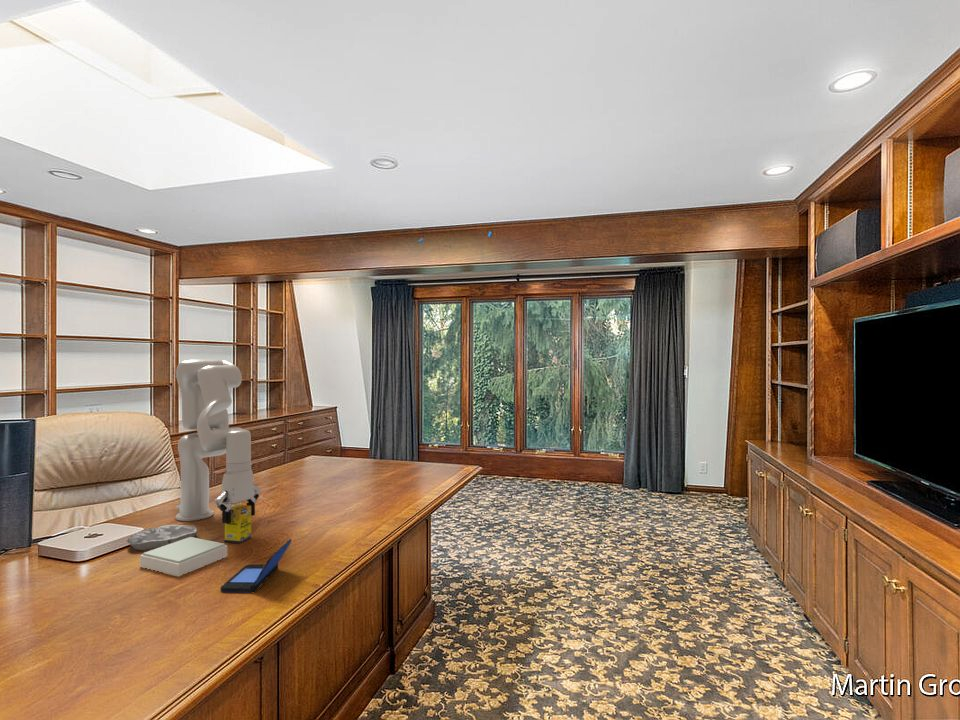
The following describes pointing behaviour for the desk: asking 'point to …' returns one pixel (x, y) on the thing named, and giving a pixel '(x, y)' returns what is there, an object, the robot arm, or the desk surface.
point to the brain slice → (161, 536)
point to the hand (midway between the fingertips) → (238, 519)
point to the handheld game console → (254, 574)
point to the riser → (183, 556)
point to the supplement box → (239, 524)
